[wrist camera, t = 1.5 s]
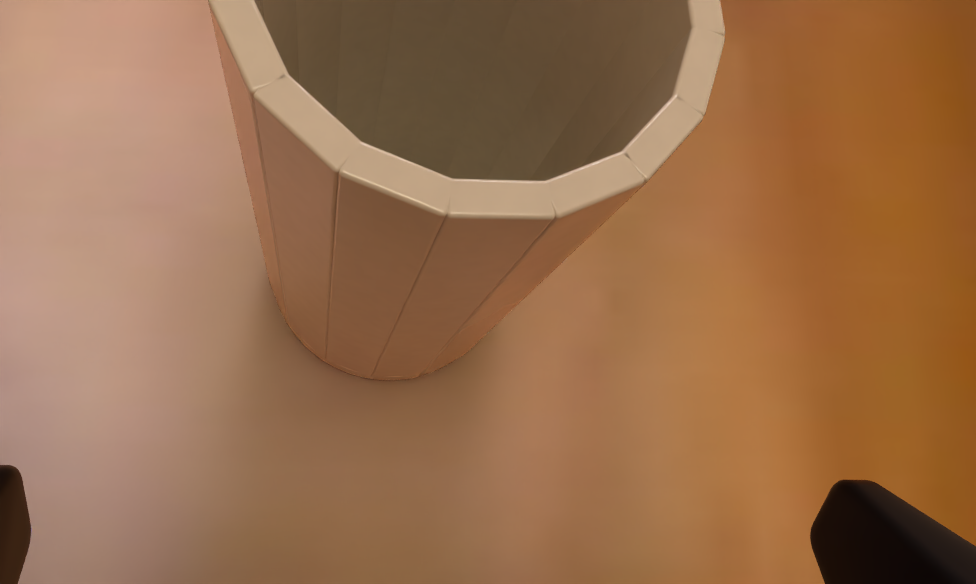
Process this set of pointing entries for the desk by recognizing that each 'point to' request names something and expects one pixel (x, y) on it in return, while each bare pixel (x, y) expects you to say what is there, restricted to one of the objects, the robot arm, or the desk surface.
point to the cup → (447, 152)
